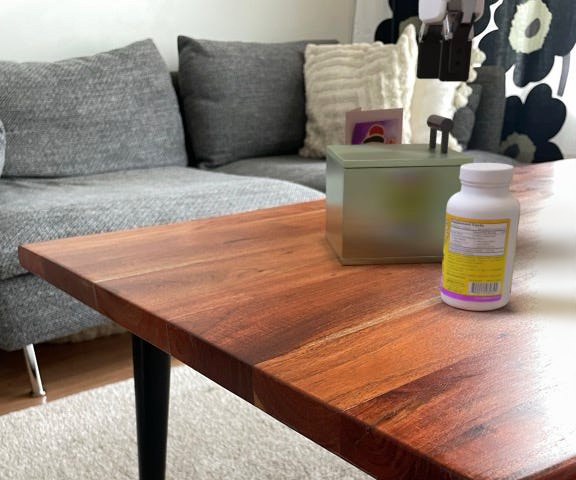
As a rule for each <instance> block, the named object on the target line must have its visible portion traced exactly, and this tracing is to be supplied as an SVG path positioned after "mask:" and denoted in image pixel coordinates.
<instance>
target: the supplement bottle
mask: <svg viewBox="0 0 576 480" xmlns="http://www.w3.org/2000/svg"><path fill="white" fill-rule="evenodd" d="M514 168H515V167H514V166H513V165H511V164H508V163H500V162H499V163H498V162H473V163H470V164H464V165H462V166H461V167H460V177H459V179H461V183H462V186H461V191H460V192H458V193H456V194H454V195H453V196H452V197H451V198H450V199H449V201H448V203H447V209H446V223H445V236H444V249H443V262H441V264H442V265H441V278H440V280H441V281H440V298H441V300H442V301H443V303H445V304H446V305H447V306H450V307H453V308H456V309H461V310H467V311H475V312H484V311H493V310H497V309H500V308H502V307H504V306H506V305H507V304H508V303H509V302H510V299H511V293H512V285H513V278H514V277H513V276H514V267H515V259H516V250H517V241H518V233H519V225H520V216H521V207H522V206H521V202H520V200H519V198H518V197H517V196H516V195H515V194H513V193H511V192H510V185H511V184H512V181H513V179H514V171H515V169H514Z"/></svg>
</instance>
